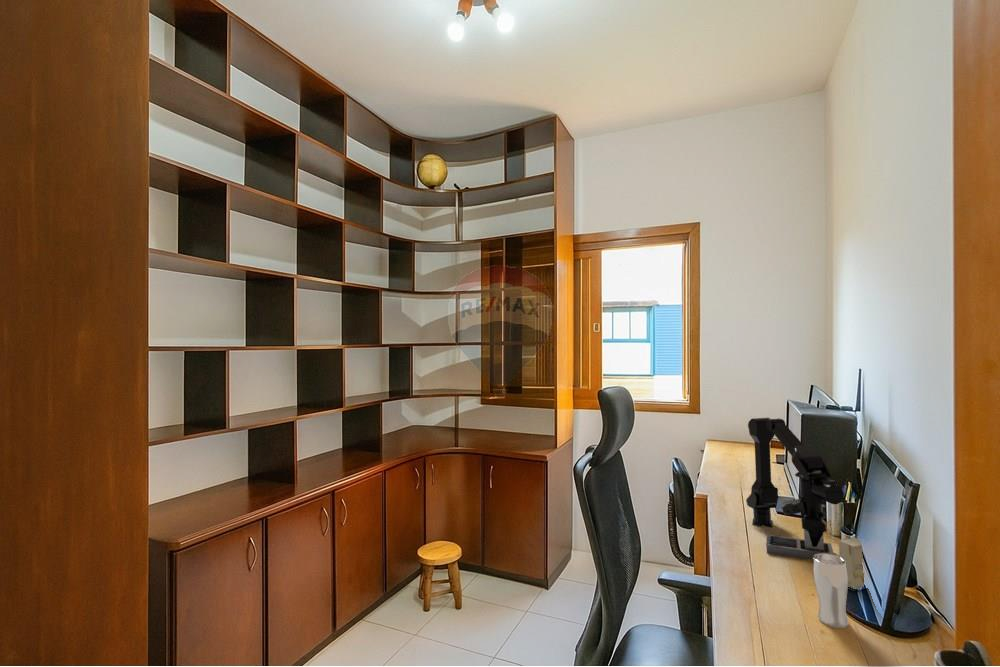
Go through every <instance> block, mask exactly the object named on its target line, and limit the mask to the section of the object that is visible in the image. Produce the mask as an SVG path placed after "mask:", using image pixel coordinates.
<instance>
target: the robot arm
mask: <svg viewBox="0 0 1000 667" xmlns="http://www.w3.org/2000/svg"><path fill="white" fill-rule="evenodd" d="M747 428H748V433H749V435H750V437H751V438H752V439H753V441H754V459H755V460H754V461H755V480H754V482H753V484H752V485H751V488H750V489H751V490H750V494H749V495H748V497H747V498H746V499H745V500H746V504H747V507H749V508H751V509H752V511H753V512H752V513H753V518H752V522H751V524H752V525H753V526H759V527H765V528H773V525H774V524H773V523H774V521H773V520H772V514H771V512H772V511H771V509H776V508H777V506H778V501H779V488H778V487H776V486H775V485H774V484H773V482H772V467H771V465H772V464H771V444H770V443H771V441H772V440H773V438H774V437H776V439H778V441H779V442H780V443H781V444H782V445H783V447H784V448H785V449H786V450H787V451H788V453H789V454H790V456H791V462H792V464H793V466H794V467H795V469H796V471H797V472H796V473H795V474H794V476H795V477H797V478H798V479H799V490H800V494H799V498H795V499H790V500H785V501H782V502H781V503H780V506H781V509H782V513H783V514H784V516H786V517H788V516H789V517H790V516H791V515H796V514H800V517H801V529H803V530H804V529H806V530H807V531H808V532H809V536H810V539H811V543H812V546H813V547H817V545H818V543H819V541H820V539H821V537H822V535H823V536H824V533H826V532H827V524H826V521H825V520H824V512H823V511H824V508H823V505H824V504H823V501H824V502H827V503H829V504H832V505H838V504H841V503H842V501H843V500H844V497H845V493H844V491H843V489H842V487H841V486H839V485H837V484H838V482H837V481H836V480H835V479H834V480H833V479H832V478H833V476H832V475H831V471H830V470H829V469H828V467H827V465H826V463H825V461H824V459H823V457H822V456H821V455H820V454H819V453H817V452H816V451H815V450H814V449H811V448H809V447H806V446H805V445H804V444H803V442H801V440H800V439H799V438H798V437H797V436H796V434H794V432H793V431H792V430H791V429H790V428H789V427H788V426H787V425H786V421H785V420H784V419H783V418H771V417H758V418H757V417H756V418H755V417H754V418H751V419H750V420H749V421H748V423H747Z"/></svg>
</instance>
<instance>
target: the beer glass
mask: <svg viewBox="0 0 1000 667" xmlns="http://www.w3.org/2000/svg"><path fill="white" fill-rule="evenodd" d="M824 553H825V552H824ZM824 553H820V554H815V555H814V556H813V557H814V560H813V564H812V566H813V567H812V568H813V569H812V570H813V572H812V573H813V581H814V585H815V588H816V589H815V590H816V593H817V597H818V604H819V609H818V615H817V616H818V617H817V618H818V620H819V621H820V622H821V623H822V624H823V625H826V626H828V627H831V628H834V629H835V628H836V629H845V628H848V627H849V624H850V623H849V620H848V616H847V610H846V605H847V597H848V589H849V588H848V575H847V568H846V561H845V560H844V559H842V558H841V557H839V556H837V555H831V554H824Z"/></svg>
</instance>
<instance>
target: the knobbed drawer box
mask: <svg viewBox="0 0 1000 667" xmlns="http://www.w3.org/2000/svg"><path fill="white" fill-rule="evenodd" d="M803 537H804V539H803V540H805V548H804V550H811V551H817V552H824V553H825V551H824V542H825V541H824V540H825V539H824V534H823V535H822V537H821V539H820V541H819V543H818V545H817V547H813V546H812V543H811V539H810V536H809V532H808V531H807V530H806V529H803Z"/></svg>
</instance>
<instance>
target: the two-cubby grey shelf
mask: <svg viewBox="0 0 1000 667" xmlns="http://www.w3.org/2000/svg"><path fill="white" fill-rule="evenodd" d="M765 543H766V554H772V555H779V556H785V557H791V558H797V559H802V560H810V561H814V557H813V556H814V555H815V554H820V553H824V554H831V555H834V550H833V546H832V543H830V542H825V541H824V552H817V551H811V550H805V540H804V539H801V538H796V537H789V536H781V535H774V534H767V533H766V542H765Z"/></svg>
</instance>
